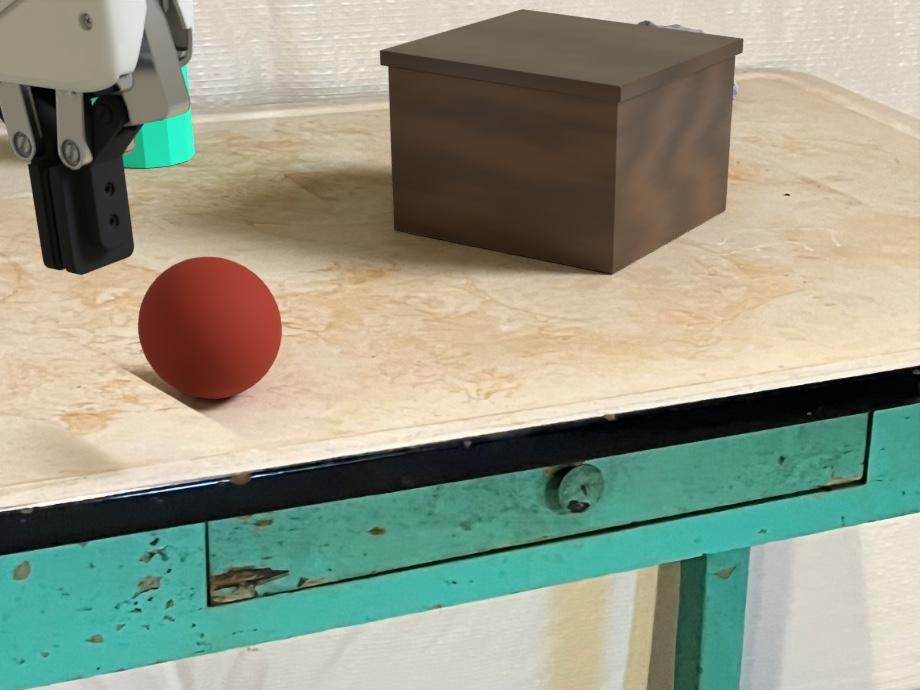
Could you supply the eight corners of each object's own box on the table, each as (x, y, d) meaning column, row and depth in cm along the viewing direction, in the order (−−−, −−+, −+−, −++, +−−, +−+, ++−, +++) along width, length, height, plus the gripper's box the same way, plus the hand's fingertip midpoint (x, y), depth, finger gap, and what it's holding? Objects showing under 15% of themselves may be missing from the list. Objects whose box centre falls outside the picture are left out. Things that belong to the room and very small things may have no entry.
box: (614, 277, 89) (620, 86, 84) (385, 230, 95) (379, 50, 90) (732, 209, 100) (744, 38, 95) (521, 171, 106) (521, 8, 101)
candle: (79, 153, 107) (55, -48, 101) (164, 138, 111) (145, -56, 105) (127, 173, 104) (104, -34, 98) (213, 157, 107) (195, -43, 101)
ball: (159, 428, 71) (144, 290, 68) (134, 377, 75) (119, 246, 72) (301, 409, 73) (292, 274, 70) (268, 361, 77) (258, 232, 74)
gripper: (-238, -283, 56) (-126, 258, 65) (102, -273, 50) (175, 325, 59) (-60, -287, 62) (20, 210, 71) (265, -279, 55) (308, 266, 64)
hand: (90, 261), depth 65 cm, fingers closed
